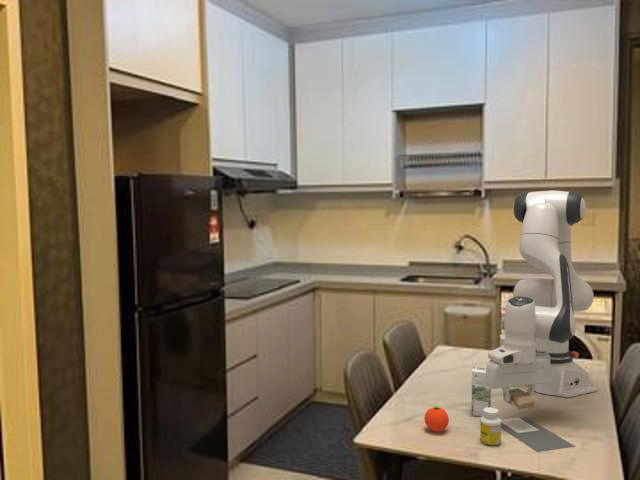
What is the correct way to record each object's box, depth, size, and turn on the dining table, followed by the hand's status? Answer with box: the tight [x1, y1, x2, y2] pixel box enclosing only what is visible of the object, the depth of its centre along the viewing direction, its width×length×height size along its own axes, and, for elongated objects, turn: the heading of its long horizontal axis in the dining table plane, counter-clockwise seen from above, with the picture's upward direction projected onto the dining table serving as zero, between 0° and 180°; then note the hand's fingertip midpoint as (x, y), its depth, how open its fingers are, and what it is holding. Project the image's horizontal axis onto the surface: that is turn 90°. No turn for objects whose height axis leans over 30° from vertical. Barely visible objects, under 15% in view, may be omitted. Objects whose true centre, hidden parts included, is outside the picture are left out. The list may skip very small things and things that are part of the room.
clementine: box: [424, 405, 450, 433], centre depth 167 cm, size 8×7×7 cm
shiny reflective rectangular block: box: [502, 388, 536, 410], centre depth 168 cm, size 8×5×3 cm, turn 16°
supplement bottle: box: [479, 407, 502, 448], centre depth 157 cm, size 5×5×10 cm
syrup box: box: [470, 366, 492, 418], centre depth 178 cm, size 6×6×14 cm
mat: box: [500, 416, 576, 453], centre depth 163 cm, size 12×22×1 cm, turn 16°
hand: (518, 399), depth 168 cm, fingers closed on shiny reflective rectangular block, 5 cm apart
